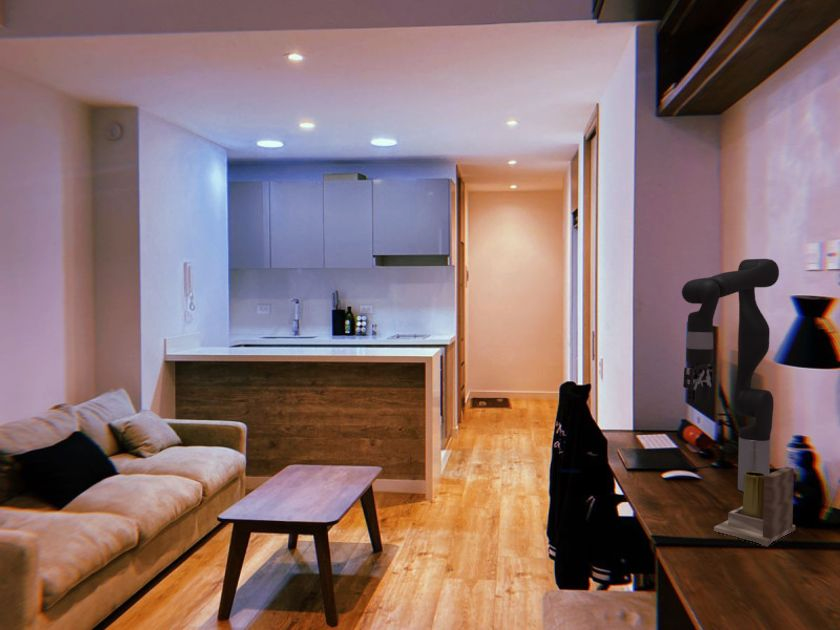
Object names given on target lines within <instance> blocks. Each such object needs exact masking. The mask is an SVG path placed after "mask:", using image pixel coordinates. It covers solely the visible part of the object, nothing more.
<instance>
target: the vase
mask: <svg viewBox="0 0 840 630" xmlns="http://www.w3.org/2000/svg"><path fill="white" fill-rule="evenodd" d="M764 476H765V474H764V473H761V472H754V471H749V472H745V474H744V492H743V497H742V500H743V501H742V506H743V515H745V516H749V517H753V518H757V519H761V520H763V506H764Z"/></svg>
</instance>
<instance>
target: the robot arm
mask: <svg viewBox="0 0 840 630" xmlns="http://www.w3.org/2000/svg"><path fill="white" fill-rule="evenodd" d="M779 276H780V268H779V266H778V264H777V262H776V261H775V260H773V259H770V258H752V259H751V258H747V259H743V260H741V262H739V265H738V268H737V270H732V271H726V272H721V273H719V274H714V275H712V276H709V277H703V278H696V279H695V278H694V279H691V280H689V281H687V282H686V283H685V284H684V285H683V286H682V288H681V289H682V290H681V296H682V299H684V301H685V302H687V303H688V304H694V305H695V304H696V305H697V304H698V305H700V308H699V309H698V310H697V311H693V312H690V313H689V314H688V315H687V333H686V345H685V346H686V348H685V350H686V352H685V362H687V363H689V364H690V367H687V366H686V367H684V369H683V388H685V389H686V390H687V402H688V403H692V404H693V403H696V401H697V387H698V385H700V384H701V399H702V400H705V401H708V400H710V396H711V395H710V394H711V391H710V390H711V387H712V386H713V385H714V384H715V366H714V365H713V362H714V332H713V331H714V330H713V329H714V316H715V312H716V309H717V308H718V307H717V306H718V304H719V300H720V298H724V297H727V296H731V295H733V294H736V293H738V307H739V308H738V331H737V332H738V333H737V334H738V335H737V336H738V337H737V367H736V368H737V369H736V376H735V377H736V379H735V386H734V387H735V388H734V396H733V407H734V411H735V412H736V414H737V415H740V416H743V417H745V416H746V417H750V418H755V421H754V423H753V424H751V425H747V426H743V427H740V428H739V430H738V455H737V456H738V459H737V460H738V463H737V464H738V467H737V490H739V491H740V492H742V493H744V474H745V472H749V471H754V472H761V473H764V474H765V475H768V474H770V466H771V464H770V463H771V462H770V461H771V435H772V434H771V433H772V429H773V417H774V414H773V413H774V405H775V404H774V397H773V394H772V393H771V391H769V390H767V389H762V388H761V389H760V388H753V387H752V379H753V375H754V373H755V371H756V369H757V368H758V366H759V365H760V363H762V361H763V359H764V358H765V356H766V355H767V353H768V352H769V349H770V331H771V330H770V326H769V324H768V321H767V320H766V318H765V317H764V315H763V313H762V311H761V309H760V308H759V306H758V303H757V300H756V289H757V288H769V287H772V286H774V285H775V284H776V283H777V282H778V279H779Z"/></svg>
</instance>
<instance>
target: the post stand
mask: <svg viewBox="0 0 840 630" xmlns="http://www.w3.org/2000/svg"><path fill="white" fill-rule="evenodd" d="M794 470H795V469H794V468H793V467H789V466H785V467H782V468H779V469H778V470H775V471H773V472H769V474H768V475H765V476H764V506H763V520H761V519H757V518H753V517H749V516H745V515H743V505H741V506H740V507H738V508H735V509H733V510H731V511H728V513H727V514H728V516H727V518H728V519H727V520H725V521H723V522H721V523H718V524H717V525H715V526H713V532H714V531H716V532H720V533H724V534H728V535H732V536H736V537H739V538H743V539H746V540H749V541H753V542H756V543H759V544H761V545H760V546H763V547H767V548H768V547H769V545H770V544H771V543H772V542H773V541H775V540H777V539H779V538H781V537H783V536H785V535H787V534H789V533H790V534H791V532H792V533H793V531H794V532H795V531H796V525H795V524H793V518H794V512H793V510H794V508H793V507H794V482H795V481H794V477H795V476H794V473H795V471H794ZM790 534H789V535H790ZM787 536H788V535H787ZM785 537H786V536H785ZM783 538H784V537H783ZM759 544H758V545H759ZM771 545H772V544H771ZM771 545H770V546H771Z"/></svg>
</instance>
